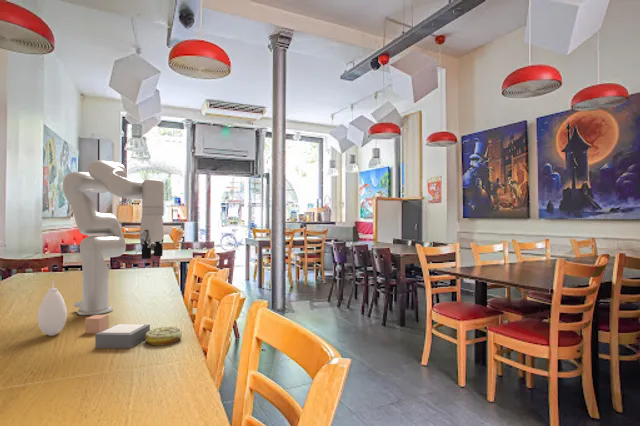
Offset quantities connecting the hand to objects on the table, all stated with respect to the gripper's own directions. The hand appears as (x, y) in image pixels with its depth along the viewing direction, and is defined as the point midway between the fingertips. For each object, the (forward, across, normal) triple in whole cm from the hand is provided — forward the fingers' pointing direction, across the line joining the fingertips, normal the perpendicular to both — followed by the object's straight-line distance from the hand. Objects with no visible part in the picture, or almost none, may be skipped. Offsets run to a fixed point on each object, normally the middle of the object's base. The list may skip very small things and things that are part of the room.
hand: (152, 257), depth 141 cm
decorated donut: (+24, +22, +14) cm, 36 cm away
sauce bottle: (+24, +16, -26) cm, 39 cm away
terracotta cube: (+24, +12, -14) cm, 30 cm away
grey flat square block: (+24, +24, +2) cm, 34 cm away
